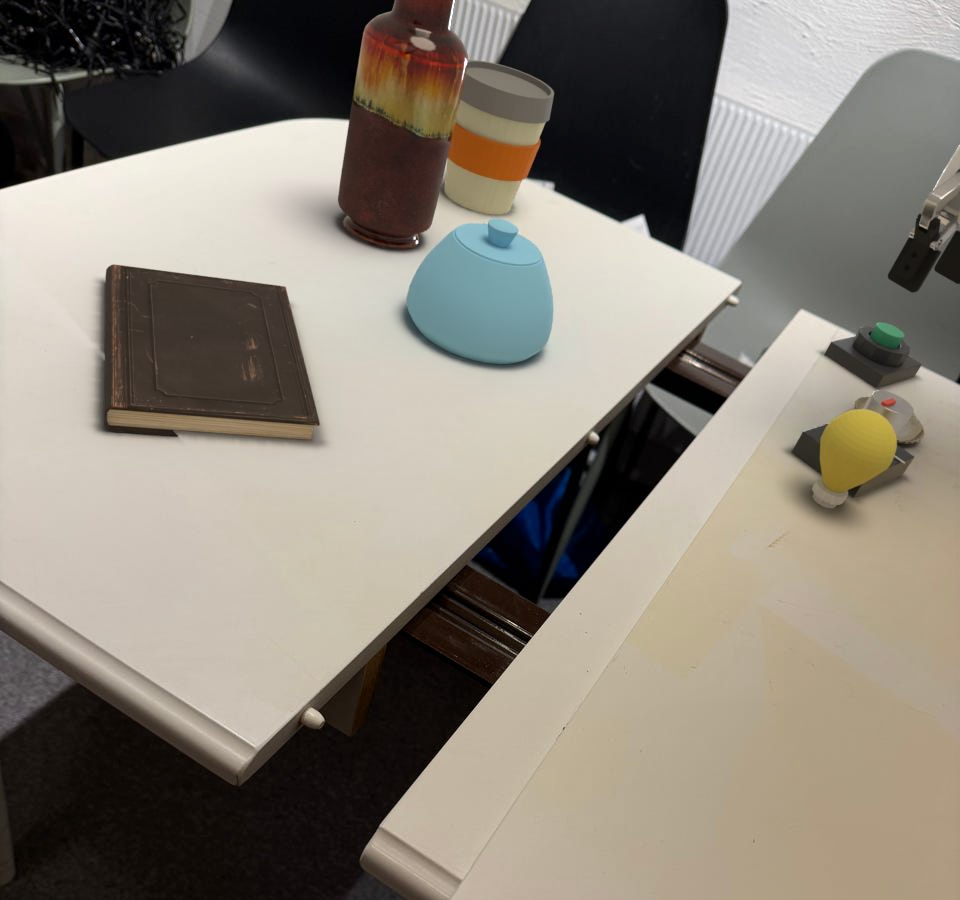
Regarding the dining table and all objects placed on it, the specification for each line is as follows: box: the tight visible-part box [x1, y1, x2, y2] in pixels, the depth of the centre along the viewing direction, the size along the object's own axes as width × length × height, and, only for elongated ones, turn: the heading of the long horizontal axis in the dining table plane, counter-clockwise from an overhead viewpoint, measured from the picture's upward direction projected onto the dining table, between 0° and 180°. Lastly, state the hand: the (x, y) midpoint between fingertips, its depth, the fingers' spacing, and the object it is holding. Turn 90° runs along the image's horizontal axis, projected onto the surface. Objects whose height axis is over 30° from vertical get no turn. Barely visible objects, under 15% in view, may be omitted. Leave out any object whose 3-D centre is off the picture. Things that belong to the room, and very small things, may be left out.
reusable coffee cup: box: [443, 59, 555, 216], centre depth 123 cm, size 13×13×15 cm
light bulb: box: [811, 409, 898, 509], centre depth 90 cm, size 7×7×10 cm
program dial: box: [863, 389, 915, 439], centre depth 98 cm, size 4×4×5 cm
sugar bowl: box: [406, 218, 554, 365], centre depth 96 cm, size 15×15×12 cm
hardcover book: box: [103, 264, 321, 441], centre depth 83 cm, size 16×23×2 cm
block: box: [823, 325, 923, 389], centre depth 120 cm, size 10×8×4 cm
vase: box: [337, 0, 469, 251], centre depth 104 cm, size 11×11×26 cm
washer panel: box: [790, 422, 915, 498], centre depth 100 cm, size 11×9×3 cm
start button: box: [870, 321, 905, 349], centre depth 119 cm, size 4×4×2 cm
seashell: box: [853, 396, 925, 445], centre depth 109 cm, size 8×3×8 cm
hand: (925, 281), depth 93 cm, fingers open, 9 cm apart
